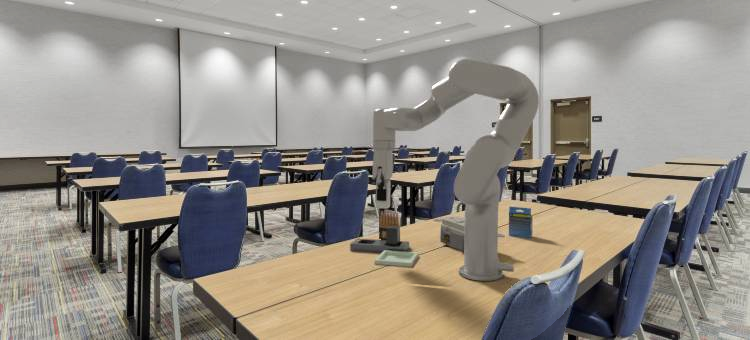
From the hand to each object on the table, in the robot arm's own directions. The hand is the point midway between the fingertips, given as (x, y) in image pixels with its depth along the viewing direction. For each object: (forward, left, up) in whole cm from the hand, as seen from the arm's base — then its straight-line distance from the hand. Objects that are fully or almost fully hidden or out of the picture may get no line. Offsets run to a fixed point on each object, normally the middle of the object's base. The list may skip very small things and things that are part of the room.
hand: (383, 199), depth 139 cm
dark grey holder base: (+3, -10, -20) cm, 23 cm away
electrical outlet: (-27, -18, -20) cm, 38 cm away
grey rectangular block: (0, 0, -3) cm, 3 cm away
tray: (-6, +4, -20) cm, 21 cm away
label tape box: (-47, -43, -20) cm, 67 cm away
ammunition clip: (+3, -21, -20) cm, 29 cm away
